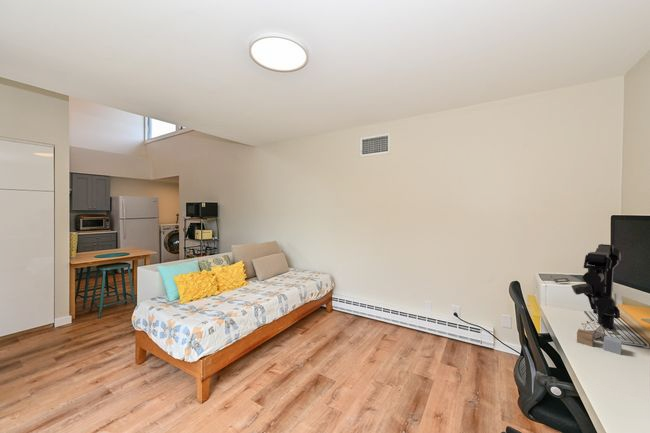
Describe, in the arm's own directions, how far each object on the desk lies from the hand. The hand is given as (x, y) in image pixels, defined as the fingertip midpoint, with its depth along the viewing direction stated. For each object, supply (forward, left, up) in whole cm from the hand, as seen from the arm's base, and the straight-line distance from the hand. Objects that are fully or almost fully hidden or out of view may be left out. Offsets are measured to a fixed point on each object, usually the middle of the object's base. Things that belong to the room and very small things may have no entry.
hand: (596, 312), depth 122 cm
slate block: (+7, +6, -13) cm, 16 cm away
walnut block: (+7, -3, -13) cm, 15 cm away
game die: (-2, -1, -13) cm, 13 cm away
